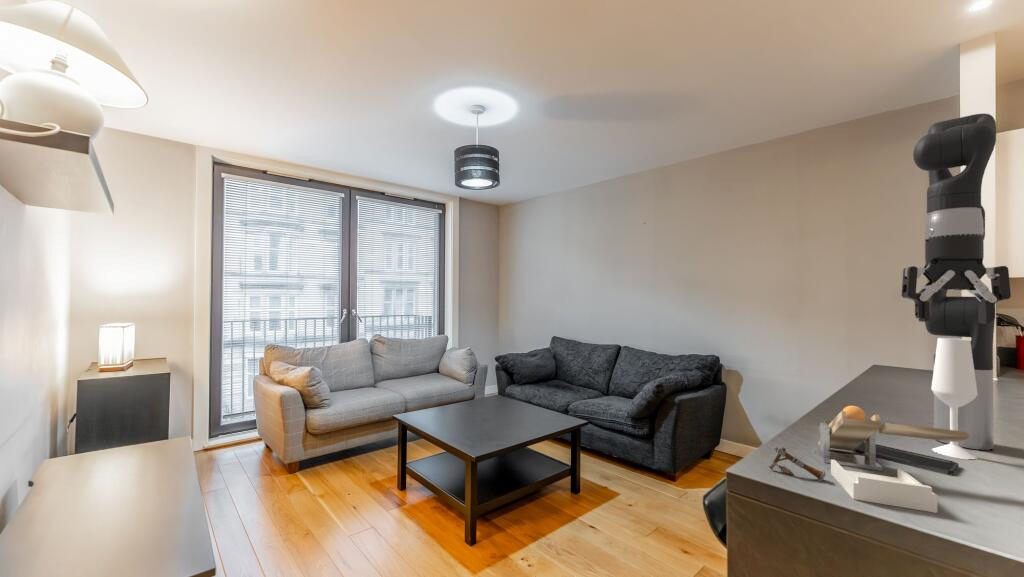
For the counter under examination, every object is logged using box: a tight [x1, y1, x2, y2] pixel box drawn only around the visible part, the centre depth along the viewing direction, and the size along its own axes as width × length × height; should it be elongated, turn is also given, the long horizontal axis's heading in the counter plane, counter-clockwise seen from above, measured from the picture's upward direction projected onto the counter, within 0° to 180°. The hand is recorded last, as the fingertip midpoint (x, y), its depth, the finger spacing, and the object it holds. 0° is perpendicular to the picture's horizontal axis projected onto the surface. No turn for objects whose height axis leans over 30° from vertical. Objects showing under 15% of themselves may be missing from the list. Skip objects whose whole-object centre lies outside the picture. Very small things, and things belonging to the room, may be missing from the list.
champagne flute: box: [931, 337, 978, 460], centre depth 88 cm, size 7×7×24 cm
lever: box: [817, 410, 969, 452], centre depth 81 cm, size 17×17×4 cm
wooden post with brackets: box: [768, 446, 827, 483], centre depth 75 cm, size 2×8×4 cm, turn 57°
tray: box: [830, 460, 938, 514], centre depth 69 cm, size 11×10×4 cm
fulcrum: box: [814, 422, 884, 472], centre depth 82 cm, size 6×9×7 cm, turn 68°
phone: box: [851, 441, 959, 476], centre depth 84 cm, size 8×1×15 cm
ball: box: [842, 405, 867, 420], centre depth 79 cm, size 4×4×4 cm
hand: (953, 322), depth 78 cm, fingers open, 8 cm apart
